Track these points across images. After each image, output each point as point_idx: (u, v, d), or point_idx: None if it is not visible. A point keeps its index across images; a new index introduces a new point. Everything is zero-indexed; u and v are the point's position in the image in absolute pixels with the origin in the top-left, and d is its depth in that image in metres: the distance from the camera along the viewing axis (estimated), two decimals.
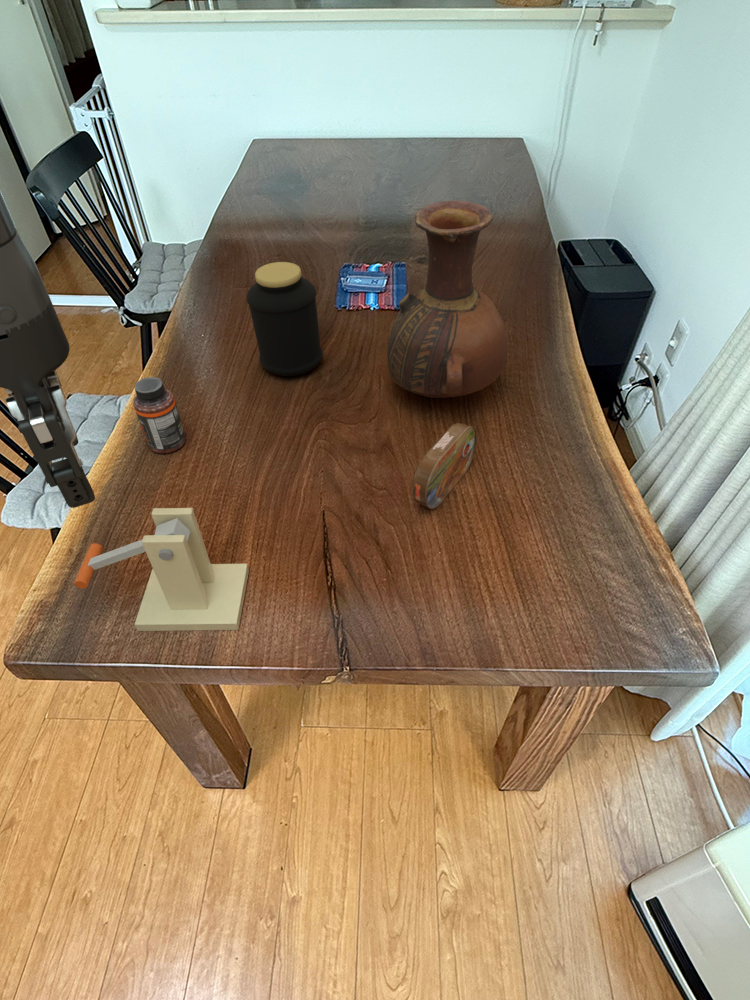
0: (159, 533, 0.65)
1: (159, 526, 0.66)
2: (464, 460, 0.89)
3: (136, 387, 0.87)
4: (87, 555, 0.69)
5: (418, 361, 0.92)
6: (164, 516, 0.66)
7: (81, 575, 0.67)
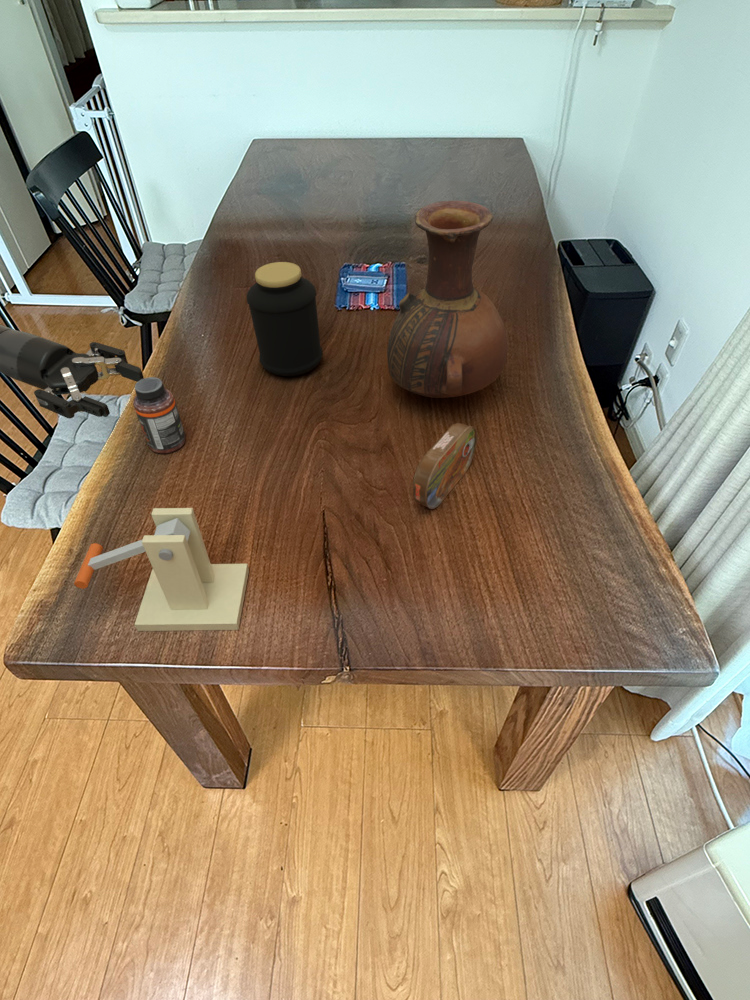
0: (159, 533, 0.65)
1: (159, 526, 0.66)
2: (464, 460, 0.89)
3: (136, 387, 0.87)
4: (87, 555, 0.69)
5: (418, 361, 0.92)
6: (164, 516, 0.66)
7: (81, 575, 0.67)
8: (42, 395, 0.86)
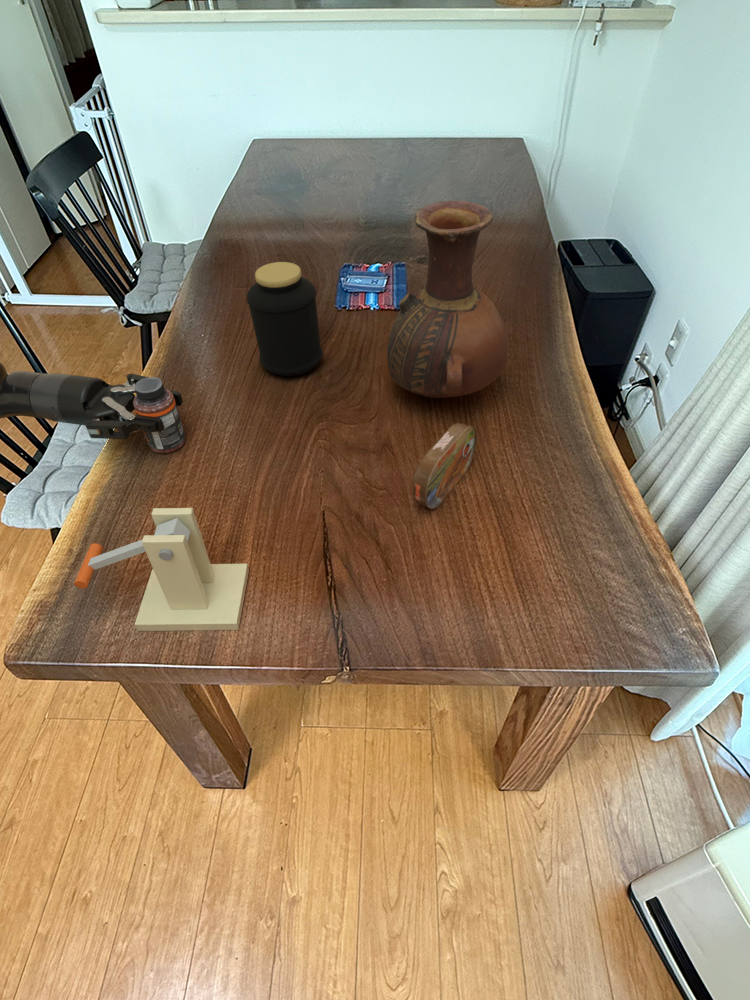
0: (159, 533, 0.65)
1: (159, 526, 0.66)
2: (464, 460, 0.89)
3: (136, 387, 0.87)
4: (87, 555, 0.69)
5: (418, 361, 0.92)
6: (164, 516, 0.66)
7: (81, 575, 0.67)
8: (94, 424, 0.87)
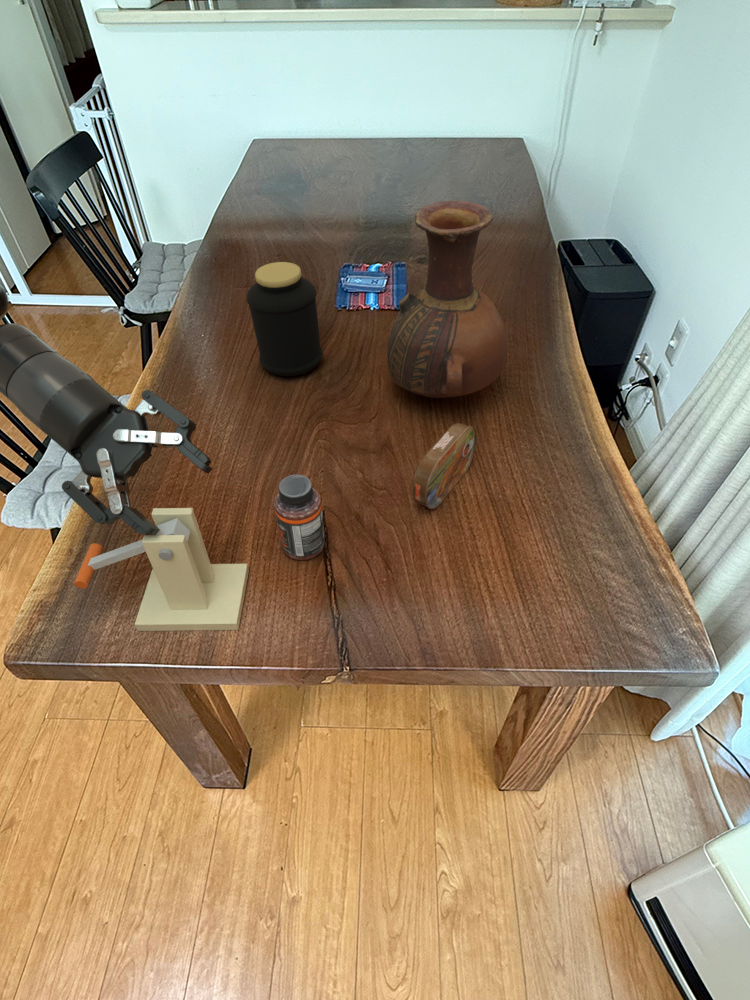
0: (159, 533, 0.65)
1: (159, 526, 0.66)
2: (464, 460, 0.89)
3: (282, 489, 0.72)
4: (87, 555, 0.69)
5: (418, 361, 0.92)
6: (164, 516, 0.66)
7: (81, 575, 0.67)
8: (72, 494, 0.62)
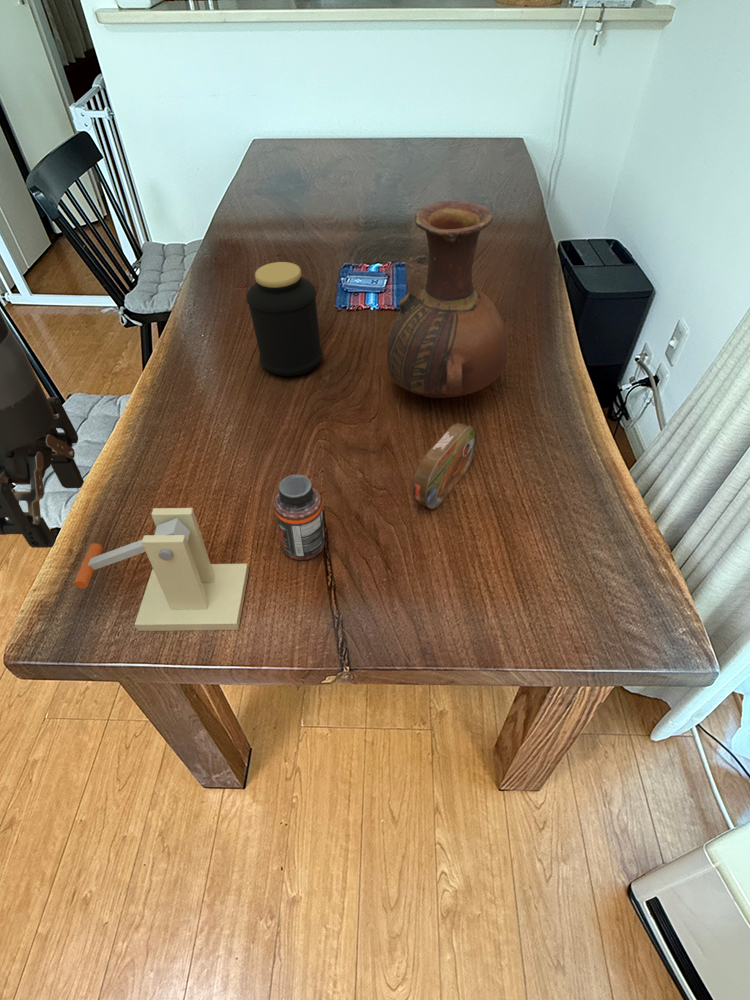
0: (159, 533, 0.65)
1: (159, 526, 0.66)
2: (464, 460, 0.89)
3: (282, 489, 0.72)
4: (87, 555, 0.69)
5: (418, 361, 0.92)
6: (164, 516, 0.66)
7: (81, 575, 0.67)
8: None
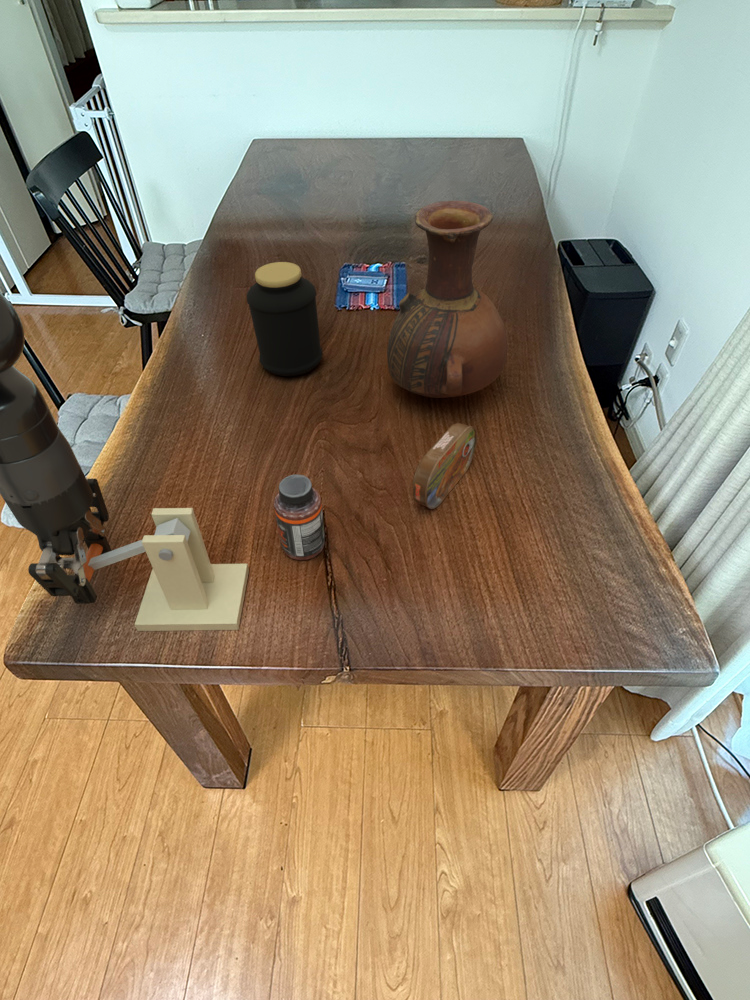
0: (159, 533, 0.65)
1: (159, 526, 0.66)
2: (464, 460, 0.89)
3: (282, 489, 0.72)
4: (87, 555, 0.69)
5: (418, 361, 0.92)
6: (164, 516, 0.66)
7: None
8: None
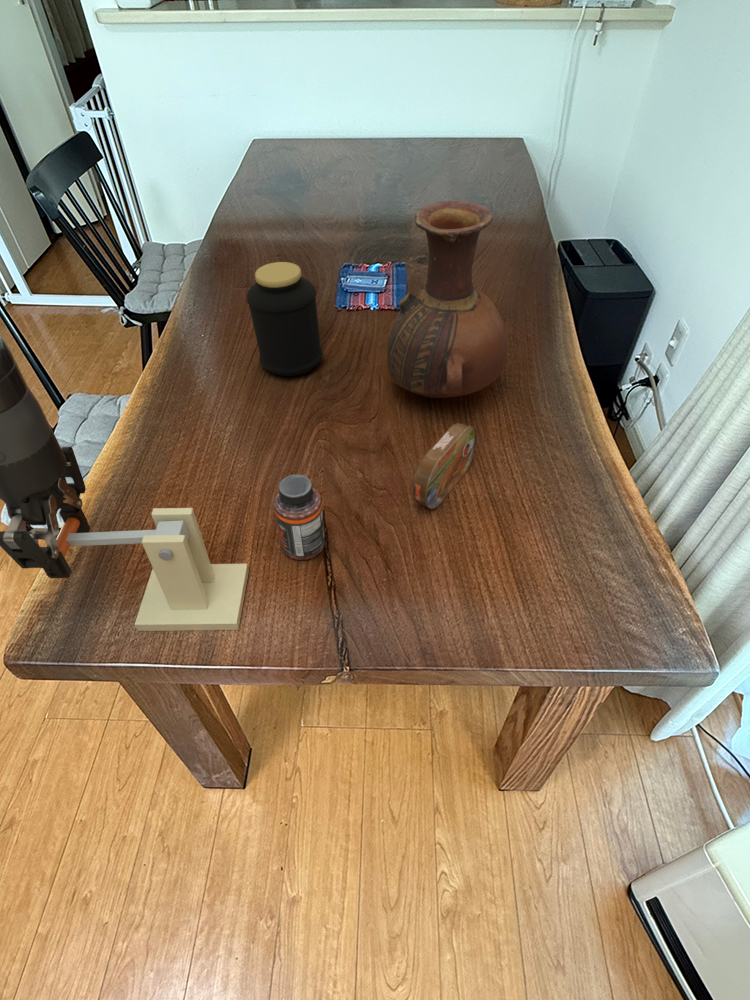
0: (162, 531, 0.64)
1: (161, 523, 0.65)
2: (464, 460, 0.89)
3: (282, 489, 0.72)
4: (65, 529, 0.66)
5: (418, 361, 0.92)
6: (164, 516, 0.66)
7: (59, 550, 0.64)
8: None
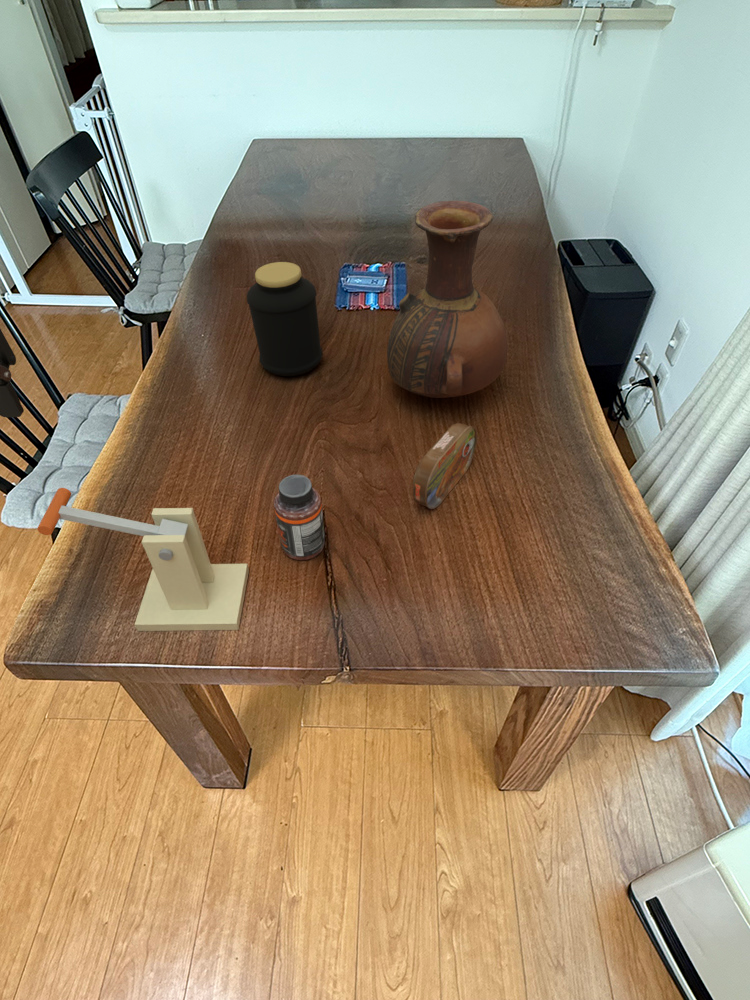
0: (166, 530, 0.64)
1: (165, 521, 0.65)
2: (464, 460, 0.89)
3: (282, 489, 0.72)
4: (58, 500, 0.63)
5: (418, 361, 0.92)
6: (164, 516, 0.66)
7: (51, 522, 0.61)
8: None
